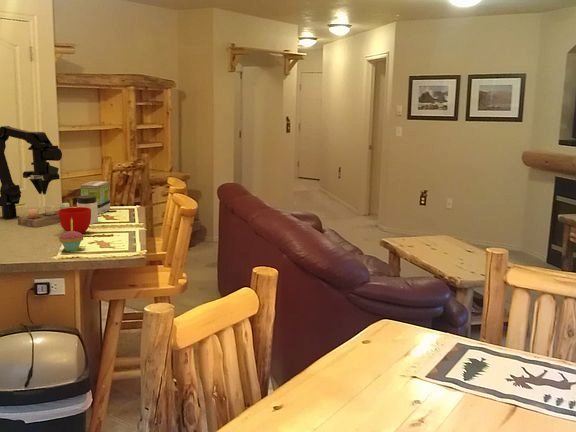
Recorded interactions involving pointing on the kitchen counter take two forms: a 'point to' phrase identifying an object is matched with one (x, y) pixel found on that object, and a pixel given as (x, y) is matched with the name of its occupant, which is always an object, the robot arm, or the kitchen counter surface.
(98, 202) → the tea box
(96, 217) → the jar
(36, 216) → the terracotta button
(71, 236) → the cupcake
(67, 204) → the green button
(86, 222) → the ceramic cup
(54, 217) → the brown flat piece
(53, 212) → the cream button
